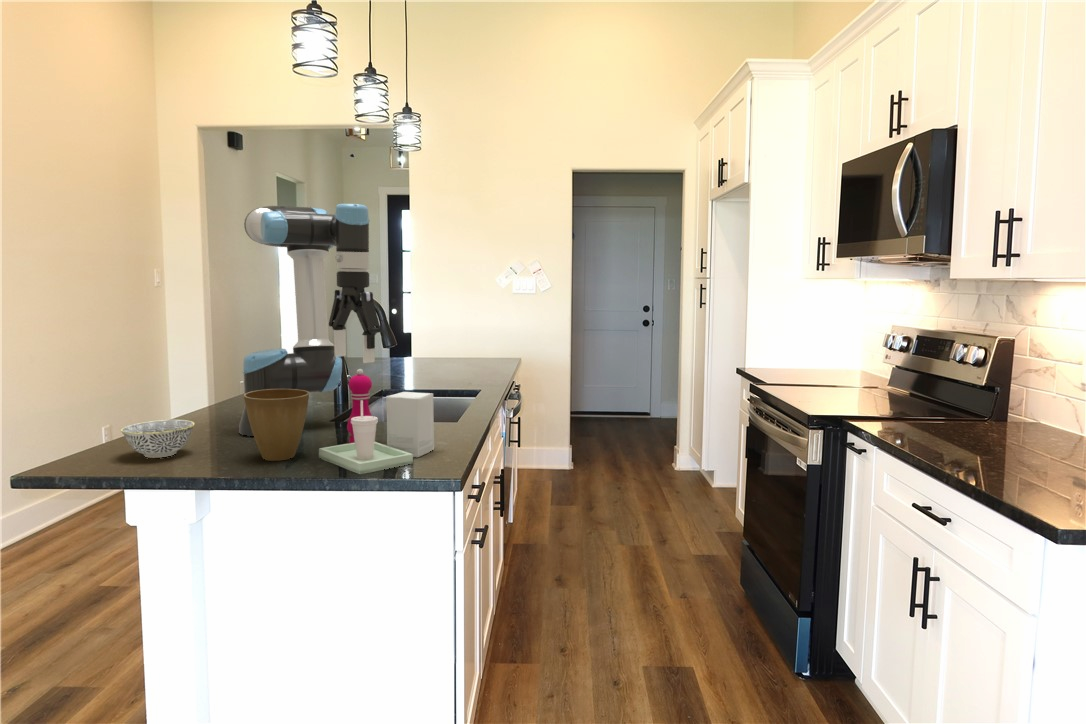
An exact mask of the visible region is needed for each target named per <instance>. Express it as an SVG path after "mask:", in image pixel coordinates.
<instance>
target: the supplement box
mask: <svg viewBox="0 0 1086 724" xmlns="http://www.w3.org/2000/svg"><path fill="white" fill-rule="evenodd" d="M385 403H386V437H387V438H386V446H389V447H393V448H396V449H399V450H402V451H405V452H408V453H411V454H413V458H420V457H422V456H424V455H427V454H429V453H430V451H431V452H433V451H434V450H435V424H434V415H435V413H434V412H435V410H434V393H432V392H431V393H430V392H412V391H411V392H410V391H402V392H398V393H395V394H390V395H386V396H385ZM432 450H433V451H432Z"/></svg>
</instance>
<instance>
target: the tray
mask: <svg viewBox="0 0 1086 724" xmlns="http://www.w3.org/2000/svg"><path fill="white" fill-rule="evenodd" d="M318 458H319V459H320V458H321V460H323V461H325V462H328V463H331V464H334V465H336V466H337V467H338V466H339V467H341V468H343V469H345V470H348V471H350V472H353V473H355V474H358V475H365V474H369V473H373V472H379V471H385V470H389V468H390V469H394V467H395V468H399V466H400V467H405V466H409V465H408V464H410V465H414V457H413V454H411V453H408V452H405V451H402V450H399V449H396V448H393V447H389V446H387V444H383V443H380V442H377V441H375V443H374V452H373V458H371V459H366V460H361V459H357V453H356V447H355V443H343V444H337V445H331V446H324V447H320V448H318ZM404 465H405V466H404ZM384 469H385V470H384Z"/></svg>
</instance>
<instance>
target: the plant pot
mask: <svg viewBox="0 0 1086 724" xmlns="http://www.w3.org/2000/svg"><path fill="white" fill-rule="evenodd" d="M309 396H310V392H308V391H305V390H297V389H266V390H257V391H252V392H248V393H246V394H243V399H244V406H245V405H246V410H247V414H248V419H249V422H250V426H251V429H252V433H253V436H254V437H253V439H254V441H255V444H256V447H257V448H258V451H259V453H260V455H261V457H262V459H263V460H264V459H265V460H264V461H269V462H273V461H274V462H277V461H286V460H290V458H291V459H292V458H294V457H295V456H296V454H297V450H298V447H299V444H300V442H301V438H302V435H303V431H304V427H305V424H306V423H305V422H306V418H307V413H308V412H307V411H308V403H309V399H310V397H309Z"/></svg>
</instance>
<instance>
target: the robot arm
mask: <svg viewBox="0 0 1086 724" xmlns="http://www.w3.org/2000/svg"><path fill="white" fill-rule="evenodd" d="M369 223H370V216H369V208H368V207H367V206H366V205H365V204H359V203H339V204H337V205H336V206H335V213H334V214H332V213H331V214H330V213H329V212H328V211H326V210H325V209H324V208H314V207H311V206H310V207H308V206H307V207H306V206H305V207H304V206H280V205H267V206H261V207H258V208H255V209H253V210H251V211H250V212H249V213H248V214H247V215H246V217H245V219H244V224H243V225H244V226H243V227H244V230H245V232H246V235H247V236H248V237H249V238H250V239H251V240H252V241H254V242H256V243H258V244H261V245H264V246H269V247H280V248H286V250H287V251H286V252H287V255H288V256H289V257H290V258H291V259H292V261H293V262H292V263H293V275H294V276H293V277H294V278H293V279H294V297H295V310H296V311H295V312H296V328H297V342H296V343H295V344H294V345H293V346H292V351H293V352H291V353H289V352H288V351H287V349H286V348H273V349H272V348H271V349H265V350H258V351H255V352H251V353H249V354H246V355H245V357H244V358H243V365H242V373H243V391H244V394H246V393H248V392H252V391H257V390H266V389H297V390H305V391H308V392H309V393H323V392H331V391H334V390H335V389H337V387H338V386H339V384H340V381H341V378H342V377H341V376H342V372H343V359H342V357H346V356H347V341H346V339H347V335H346V333H347V330H346V329H347V328H346V326H345V325H346V324H347V321H348V319H349V316H350V315H351V312H352V311H353V312H354V313H355V314H356V316H357V318H358V321H359V323H360V325H361V328H362V330H363V332H362V363H363V364H369V363H375V362H376V359H375V357H376V356H375V353H376V351H375V347H376V337H375V336H376V335H377V334H378V333H381V332H382V330H381V325H380V322H379V318H378V314H377V310H376V307H375V306H376V305H375V304H374V303H375V302H374V293H373V292H372V291H365V288H369V287H370V273H369V271H368V270H370V231H369V230H370V227H369V226H370V224H369ZM333 247H336V248H335V249H336V256H335V260H336V269H339V270H338V271H337V272H336V286H337V287H338V288H341V289H335V290H334V299H333V304H332V307H331V312H330V317H329V321H328V304H327V289H326V276H325V275H326V274H325V272H326V271H325V258H326V257H328V256H329V254H330V252H329V250H330V249H332V248H333ZM329 327H331V328H332V330H333V336H334V337H333V341H334V343H333V342H331V341H330V339H329ZM244 394H243V395H244ZM238 433H240V434H243V435H247V436H246V437H250V436H253V433H252V429H251V426H250V422H249V419H248V414H247V410H246V405H245V404H244V407H243V410H242V414H241V419H240V421H239V423H238ZM240 434H239V435H240ZM243 435H242V436H243Z"/></svg>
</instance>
